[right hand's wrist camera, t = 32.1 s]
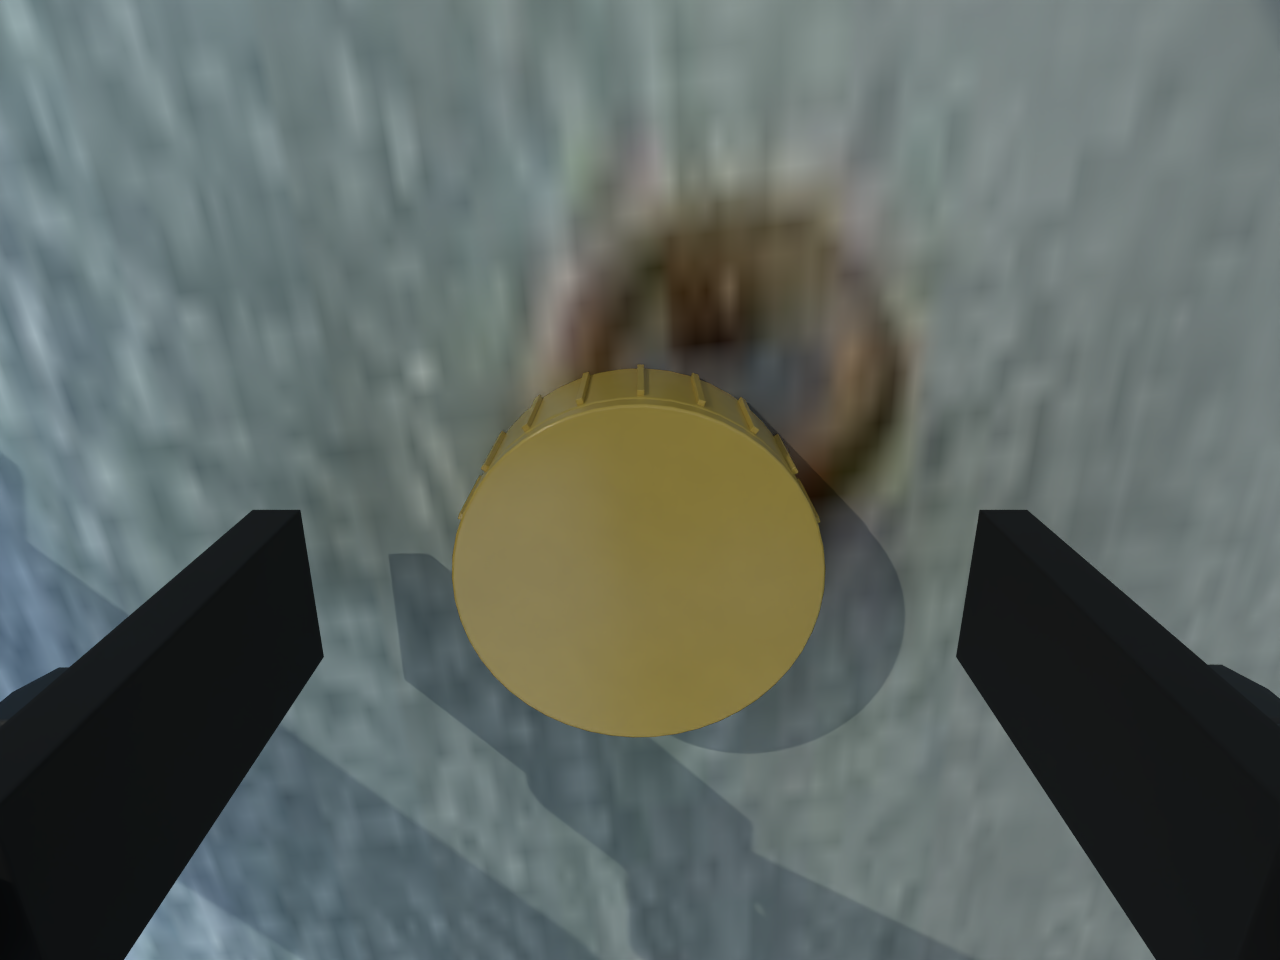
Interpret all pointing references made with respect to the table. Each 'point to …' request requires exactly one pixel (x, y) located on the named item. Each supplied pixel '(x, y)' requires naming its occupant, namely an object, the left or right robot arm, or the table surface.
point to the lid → (638, 555)
